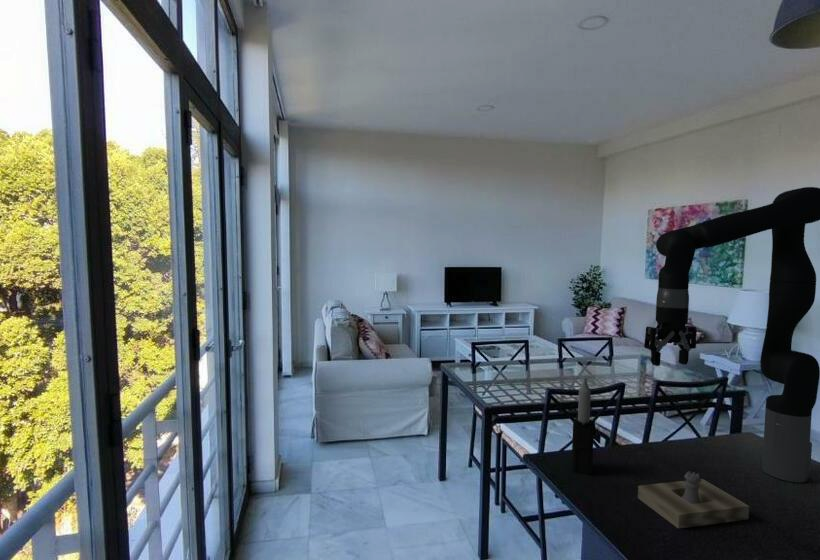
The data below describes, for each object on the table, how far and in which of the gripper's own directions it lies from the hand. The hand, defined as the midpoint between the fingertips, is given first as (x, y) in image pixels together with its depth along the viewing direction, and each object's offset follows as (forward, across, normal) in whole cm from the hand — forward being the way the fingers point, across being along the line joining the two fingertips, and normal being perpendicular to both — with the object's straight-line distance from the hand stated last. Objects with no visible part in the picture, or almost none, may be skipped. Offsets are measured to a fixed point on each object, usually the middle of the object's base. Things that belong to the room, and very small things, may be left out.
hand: (669, 364), depth 120 cm
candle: (+28, +24, -2) cm, 37 cm away
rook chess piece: (+28, +10, +19) cm, 35 cm away
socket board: (+28, +10, +19) cm, 35 cm away
